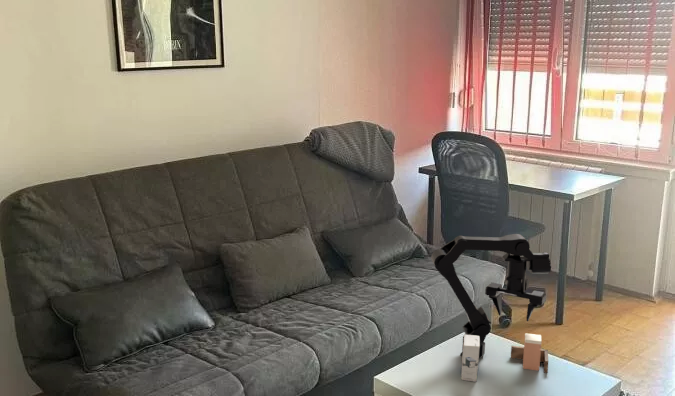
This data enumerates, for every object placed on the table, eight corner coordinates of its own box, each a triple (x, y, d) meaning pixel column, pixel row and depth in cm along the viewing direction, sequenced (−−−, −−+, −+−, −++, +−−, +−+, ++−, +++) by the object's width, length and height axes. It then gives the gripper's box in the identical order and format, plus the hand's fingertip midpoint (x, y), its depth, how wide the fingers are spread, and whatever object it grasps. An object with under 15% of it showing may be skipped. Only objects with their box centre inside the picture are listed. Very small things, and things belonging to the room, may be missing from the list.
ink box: (461, 367, 214) (463, 333, 211) (477, 369, 213) (479, 335, 210) (461, 380, 206) (462, 345, 203) (477, 382, 205) (479, 346, 202)
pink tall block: (522, 368, 213) (525, 339, 211) (522, 361, 218) (525, 333, 216) (539, 370, 212) (541, 341, 210) (538, 363, 217) (541, 335, 215)
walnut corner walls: (510, 368, 214) (510, 356, 213) (510, 356, 222) (511, 345, 221) (547, 373, 211) (548, 361, 210) (546, 361, 219) (547, 349, 218)
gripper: (552, 271, 219) (548, 315, 222) (496, 261, 228) (494, 304, 232) (543, 281, 210) (539, 327, 213) (485, 270, 219) (483, 315, 222)
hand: (513, 318), depth 220 cm, fingers open, 9 cm apart
